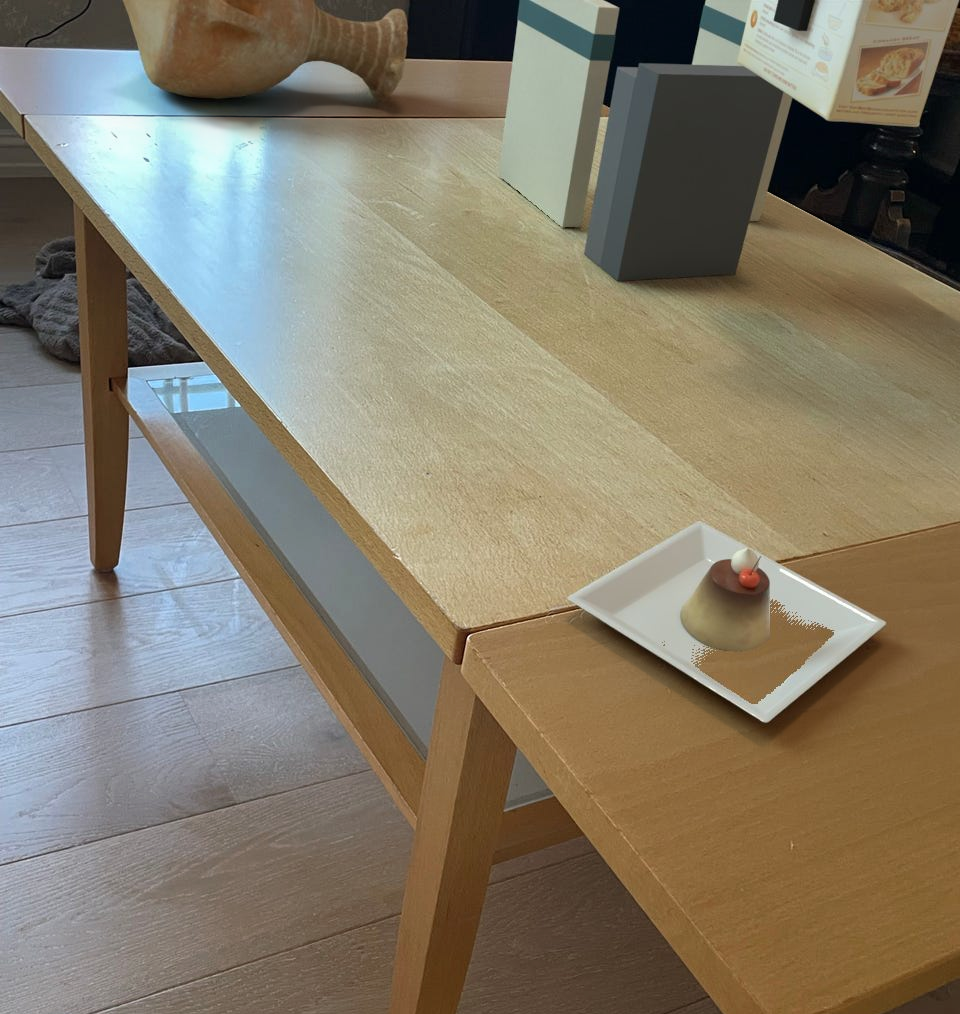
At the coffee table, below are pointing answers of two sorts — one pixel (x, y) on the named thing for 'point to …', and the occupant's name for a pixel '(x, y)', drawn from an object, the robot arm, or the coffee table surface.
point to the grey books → (680, 170)
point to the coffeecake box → (852, 56)
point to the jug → (260, 45)
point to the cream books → (588, 96)
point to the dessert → (721, 609)
